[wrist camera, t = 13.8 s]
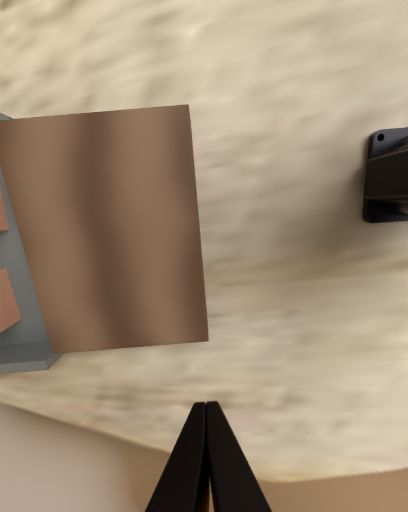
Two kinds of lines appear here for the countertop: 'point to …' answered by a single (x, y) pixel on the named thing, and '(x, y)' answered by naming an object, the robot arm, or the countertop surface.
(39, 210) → the walnut board
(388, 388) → the countertop surface
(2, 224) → the tile
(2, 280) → the block
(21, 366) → the tray
